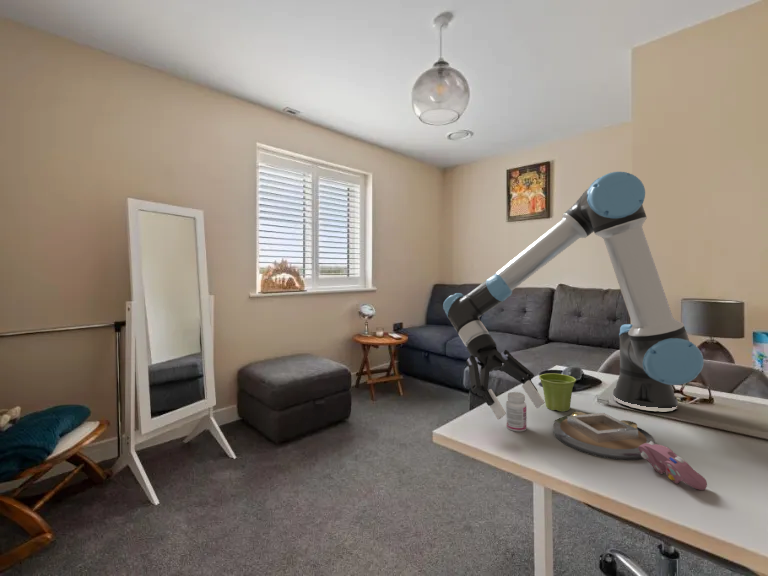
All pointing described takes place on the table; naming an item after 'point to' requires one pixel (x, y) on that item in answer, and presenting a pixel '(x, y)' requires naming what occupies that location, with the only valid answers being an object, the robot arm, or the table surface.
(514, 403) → the pill bottle
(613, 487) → the table surface
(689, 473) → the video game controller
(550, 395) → the plant pot
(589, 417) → the carrier disc
